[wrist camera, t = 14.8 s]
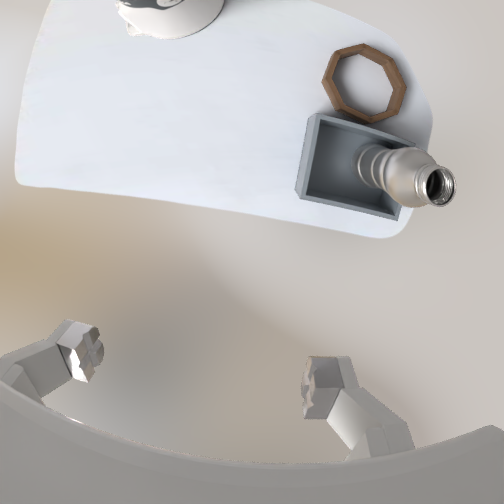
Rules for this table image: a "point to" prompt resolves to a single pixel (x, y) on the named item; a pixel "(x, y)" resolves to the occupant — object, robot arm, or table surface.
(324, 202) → the bin
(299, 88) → the table surface
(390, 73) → the collar
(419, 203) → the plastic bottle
